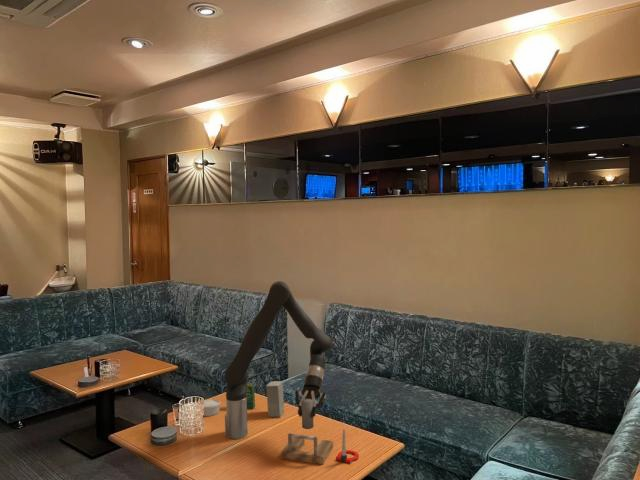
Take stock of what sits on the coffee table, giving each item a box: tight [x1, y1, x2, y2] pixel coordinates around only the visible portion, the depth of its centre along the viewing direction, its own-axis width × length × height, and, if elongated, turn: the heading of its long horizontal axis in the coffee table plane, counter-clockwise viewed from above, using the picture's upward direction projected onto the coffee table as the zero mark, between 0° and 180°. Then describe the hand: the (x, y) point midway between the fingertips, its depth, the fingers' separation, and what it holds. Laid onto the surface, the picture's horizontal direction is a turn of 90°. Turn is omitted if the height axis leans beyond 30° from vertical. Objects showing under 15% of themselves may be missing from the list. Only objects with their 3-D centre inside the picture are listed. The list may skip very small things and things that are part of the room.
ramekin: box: [203, 398, 221, 417], centre depth 236 cm, size 11×11×5 cm
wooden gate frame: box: [281, 433, 334, 465], centre depth 191 cm, size 18×14×10 cm
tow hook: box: [335, 428, 360, 464], centre depth 188 cm, size 8×13×9 cm
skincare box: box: [265, 380, 285, 418], centre depth 233 cm, size 8×7×16 cm
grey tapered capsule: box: [300, 398, 315, 430], centre depth 192 cm, size 5×5×11 cm
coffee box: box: [247, 382, 256, 410], centre depth 242 cm, size 8×3×13 cm, turn 72°
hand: (306, 416), depth 190 cm, fingers closed on grey tapered capsule, 4 cm apart
